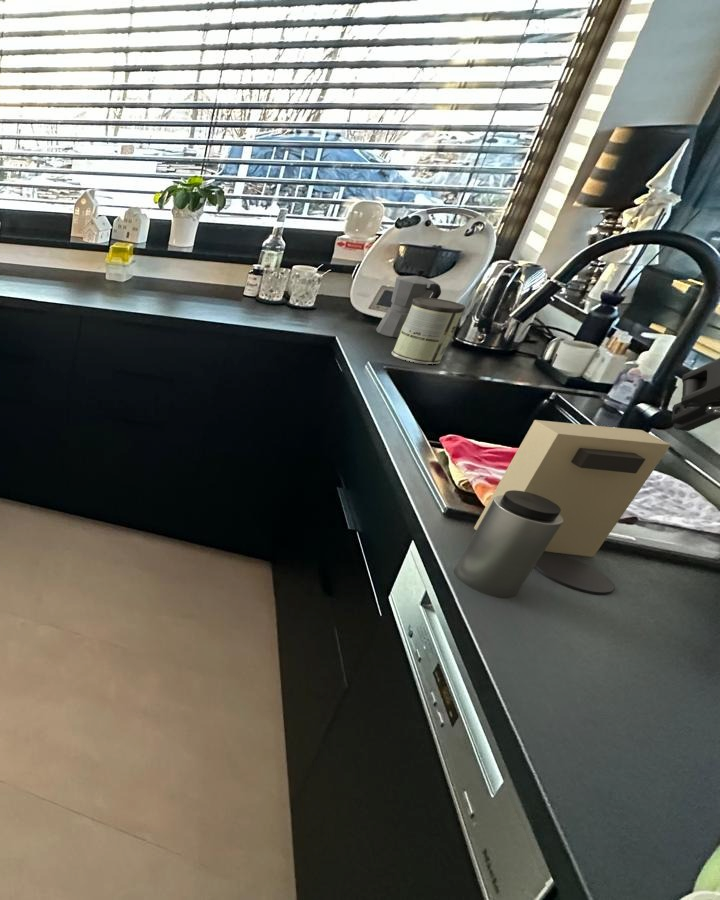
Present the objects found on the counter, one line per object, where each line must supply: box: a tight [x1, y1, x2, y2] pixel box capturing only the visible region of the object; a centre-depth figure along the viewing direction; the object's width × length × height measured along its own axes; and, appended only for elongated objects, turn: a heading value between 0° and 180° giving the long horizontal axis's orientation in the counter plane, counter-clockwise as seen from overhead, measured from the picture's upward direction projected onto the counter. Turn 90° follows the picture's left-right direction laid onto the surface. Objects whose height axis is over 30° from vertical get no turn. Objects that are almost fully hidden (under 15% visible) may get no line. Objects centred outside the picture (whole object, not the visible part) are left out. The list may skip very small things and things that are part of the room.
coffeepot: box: [375, 268, 442, 339], centre depth 170 cm, size 15×9×18 cm, turn 1°
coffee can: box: [391, 297, 466, 366], centre depth 153 cm, size 10×10×14 cm
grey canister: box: [453, 490, 563, 599], centre depth 73 cm, size 6×6×13 cm
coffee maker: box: [473, 419, 672, 596], centre depth 76 cm, size 12×13×18 cm
